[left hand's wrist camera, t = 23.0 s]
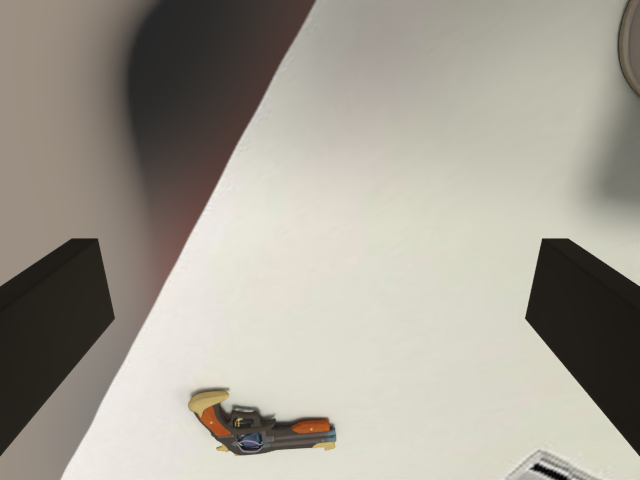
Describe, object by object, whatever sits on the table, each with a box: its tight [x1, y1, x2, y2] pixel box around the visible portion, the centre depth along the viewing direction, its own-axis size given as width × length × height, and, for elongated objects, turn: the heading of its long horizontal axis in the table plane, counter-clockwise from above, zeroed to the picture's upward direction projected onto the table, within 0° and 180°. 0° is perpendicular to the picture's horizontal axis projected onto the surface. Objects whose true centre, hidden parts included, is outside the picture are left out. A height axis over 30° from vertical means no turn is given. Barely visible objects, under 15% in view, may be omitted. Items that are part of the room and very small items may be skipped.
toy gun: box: [188, 391, 336, 456], centre depth 56 cm, size 3×19×10 cm
